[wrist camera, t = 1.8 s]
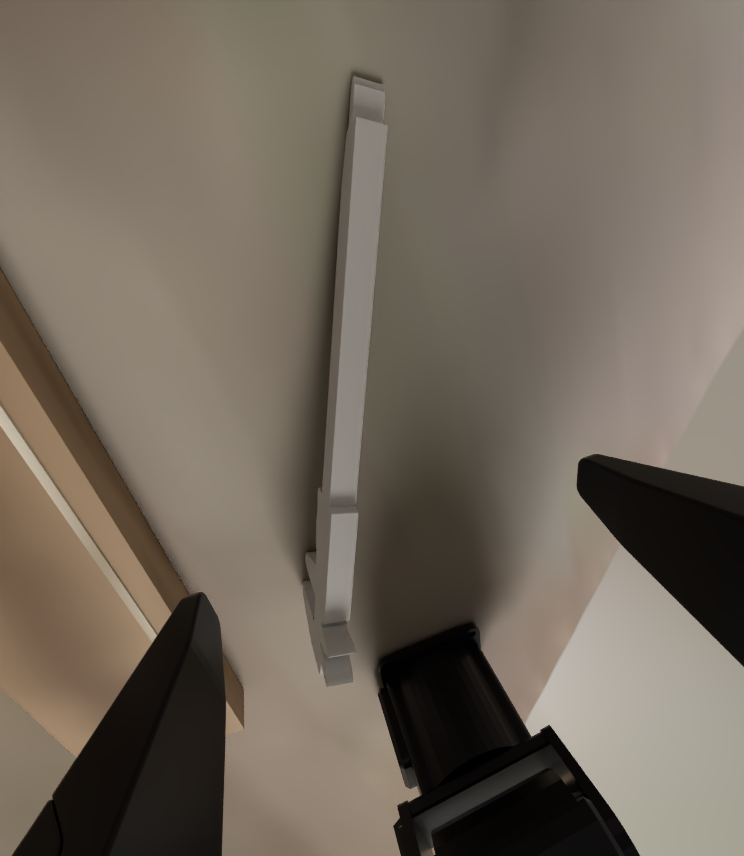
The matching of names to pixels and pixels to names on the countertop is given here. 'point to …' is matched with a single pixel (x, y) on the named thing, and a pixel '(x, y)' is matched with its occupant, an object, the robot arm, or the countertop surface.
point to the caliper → (347, 385)
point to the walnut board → (71, 552)
